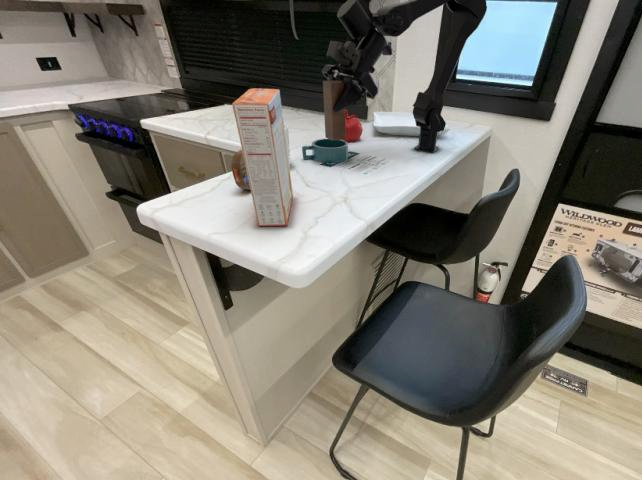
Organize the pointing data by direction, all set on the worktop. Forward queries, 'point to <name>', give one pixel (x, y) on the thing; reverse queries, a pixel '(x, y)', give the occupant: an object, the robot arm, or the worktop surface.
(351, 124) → the pomegranate
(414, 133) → the square plate
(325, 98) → the block
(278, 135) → the cracker box
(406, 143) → the worktop surface
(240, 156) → the tin
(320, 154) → the teal mug
